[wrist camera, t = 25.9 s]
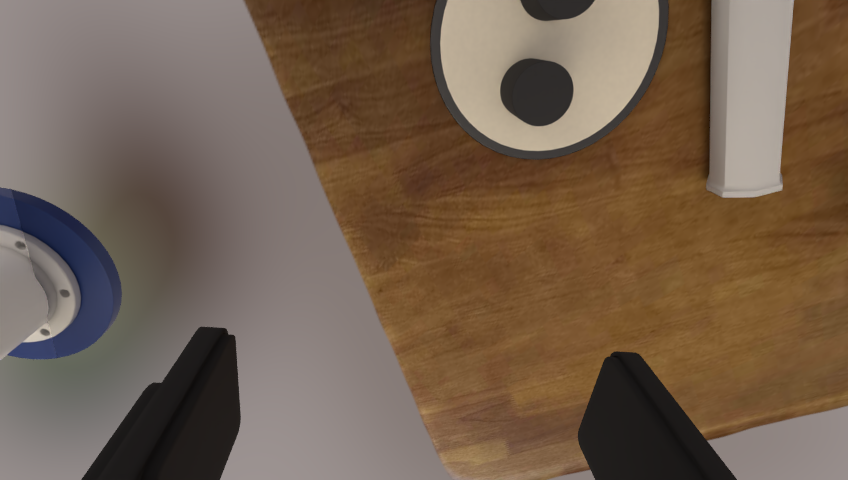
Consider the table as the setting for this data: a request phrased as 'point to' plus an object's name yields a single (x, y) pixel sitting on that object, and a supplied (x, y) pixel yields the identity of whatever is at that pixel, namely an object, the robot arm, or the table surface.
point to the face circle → (552, 41)
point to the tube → (748, 95)
